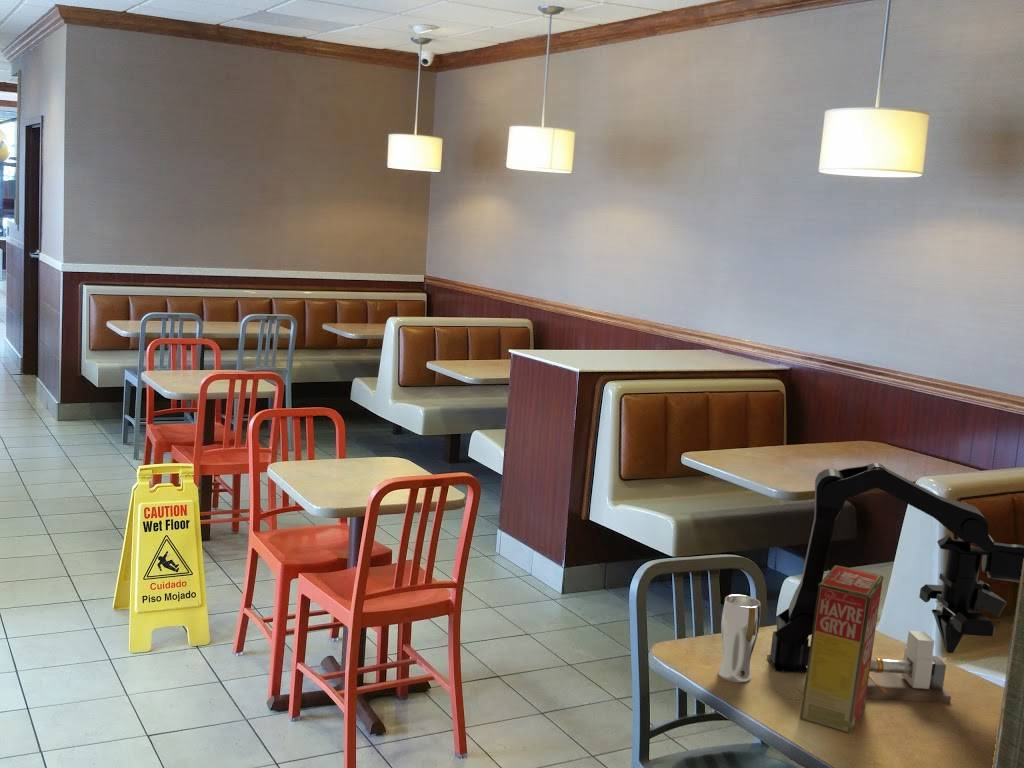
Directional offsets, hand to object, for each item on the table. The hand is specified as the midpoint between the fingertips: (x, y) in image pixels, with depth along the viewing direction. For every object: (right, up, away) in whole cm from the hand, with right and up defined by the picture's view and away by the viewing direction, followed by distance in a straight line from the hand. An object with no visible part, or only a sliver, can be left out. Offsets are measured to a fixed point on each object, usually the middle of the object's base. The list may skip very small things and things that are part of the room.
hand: (949, 652), depth 194 cm
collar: (-6, -6, +1) cm, 8 cm away
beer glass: (-40, -5, +2) cm, 41 cm away
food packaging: (-25, -8, -11) cm, 29 cm away
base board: (-10, -7, +1) cm, 13 cm away
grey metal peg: (-10, -6, +1) cm, 12 cm away
